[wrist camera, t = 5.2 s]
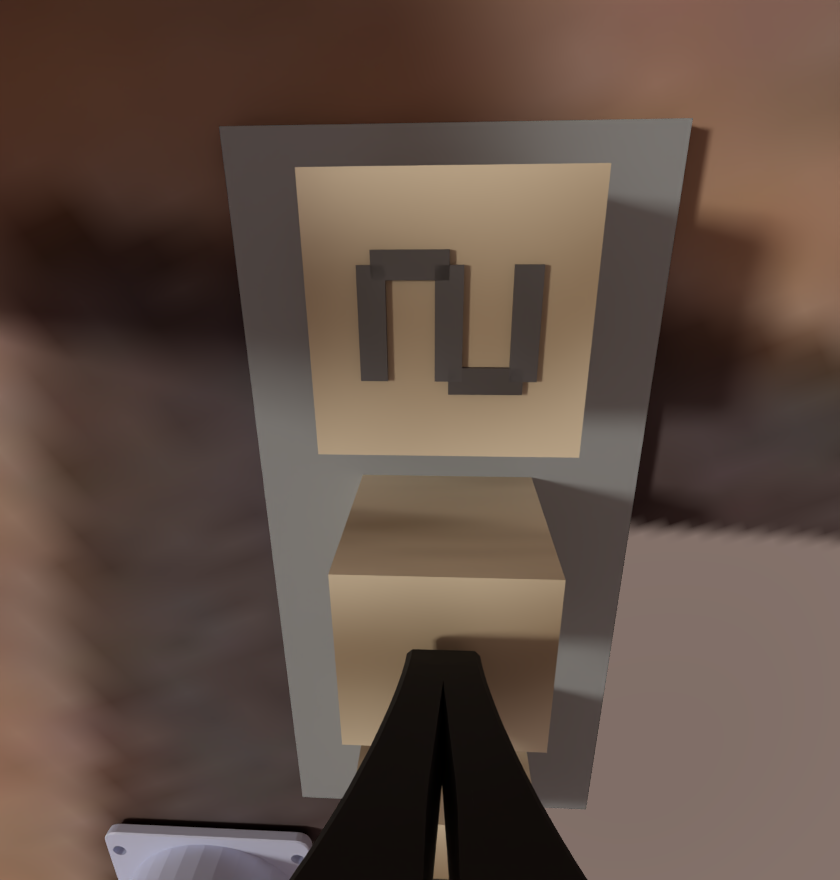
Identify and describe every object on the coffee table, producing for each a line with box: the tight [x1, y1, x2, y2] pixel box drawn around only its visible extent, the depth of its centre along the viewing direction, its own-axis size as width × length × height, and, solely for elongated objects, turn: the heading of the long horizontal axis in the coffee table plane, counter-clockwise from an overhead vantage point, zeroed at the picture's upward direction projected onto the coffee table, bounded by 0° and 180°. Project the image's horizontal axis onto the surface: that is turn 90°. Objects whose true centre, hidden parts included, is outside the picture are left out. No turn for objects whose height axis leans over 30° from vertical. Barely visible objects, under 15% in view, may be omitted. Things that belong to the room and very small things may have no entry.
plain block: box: [328, 475, 566, 753], centre depth 13 cm, size 4×4×4 cm
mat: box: [219, 118, 693, 809], centre depth 16 cm, size 21×10×1 cm, turn 0°
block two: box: [295, 163, 611, 458], centre depth 11 cm, size 4×4×5 cm
